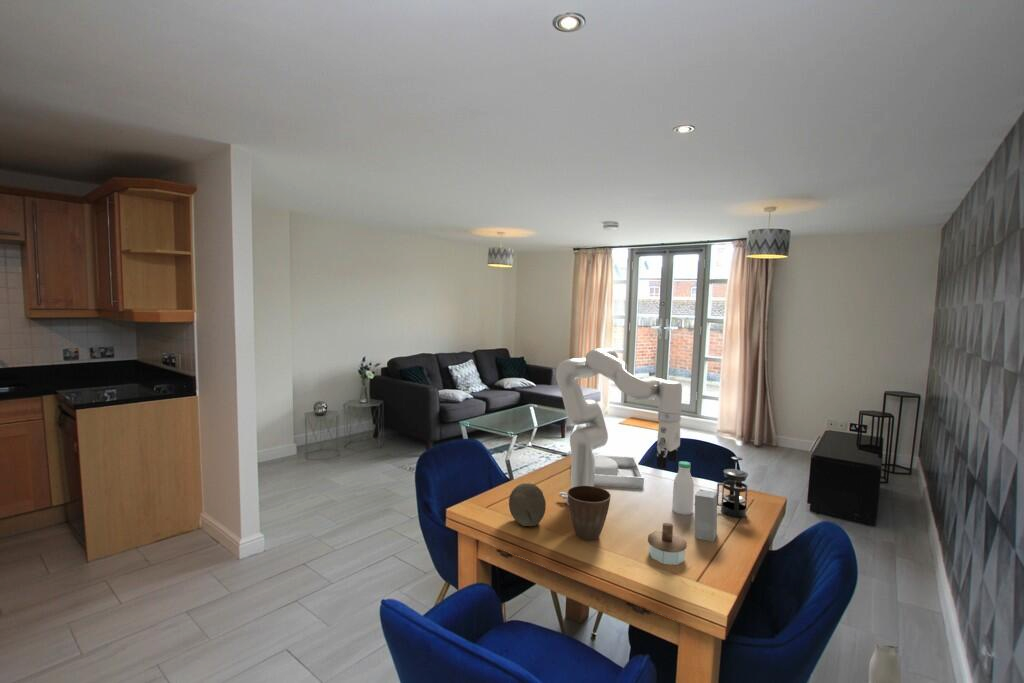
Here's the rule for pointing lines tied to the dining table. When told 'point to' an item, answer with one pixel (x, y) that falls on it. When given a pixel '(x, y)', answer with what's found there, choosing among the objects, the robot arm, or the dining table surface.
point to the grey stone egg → (527, 504)
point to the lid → (667, 540)
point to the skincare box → (706, 515)
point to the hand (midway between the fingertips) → (666, 464)
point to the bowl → (667, 556)
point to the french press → (733, 493)
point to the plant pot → (588, 510)
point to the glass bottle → (884, 665)
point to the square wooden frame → (621, 480)
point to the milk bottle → (683, 490)
